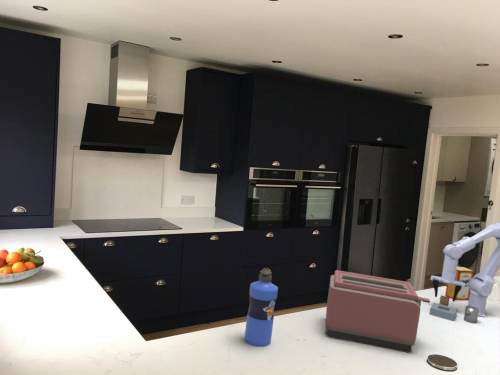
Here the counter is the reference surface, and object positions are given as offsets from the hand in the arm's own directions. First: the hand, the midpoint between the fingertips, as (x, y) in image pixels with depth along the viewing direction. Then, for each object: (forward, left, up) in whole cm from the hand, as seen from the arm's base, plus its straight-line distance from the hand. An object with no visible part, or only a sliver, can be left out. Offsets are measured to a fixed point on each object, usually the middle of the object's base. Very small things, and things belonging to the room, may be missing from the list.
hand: (444, 298), depth 202 cm
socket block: (+8, +1, -5) cm, 10 cm away
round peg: (+6, +12, -5) cm, 14 cm away
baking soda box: (-27, +3, -6) cm, 28 cm away
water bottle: (+94, -46, -6) cm, 105 cm away
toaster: (+58, -17, -6) cm, 61 cm away
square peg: (0, 0, -5) cm, 5 cm away
